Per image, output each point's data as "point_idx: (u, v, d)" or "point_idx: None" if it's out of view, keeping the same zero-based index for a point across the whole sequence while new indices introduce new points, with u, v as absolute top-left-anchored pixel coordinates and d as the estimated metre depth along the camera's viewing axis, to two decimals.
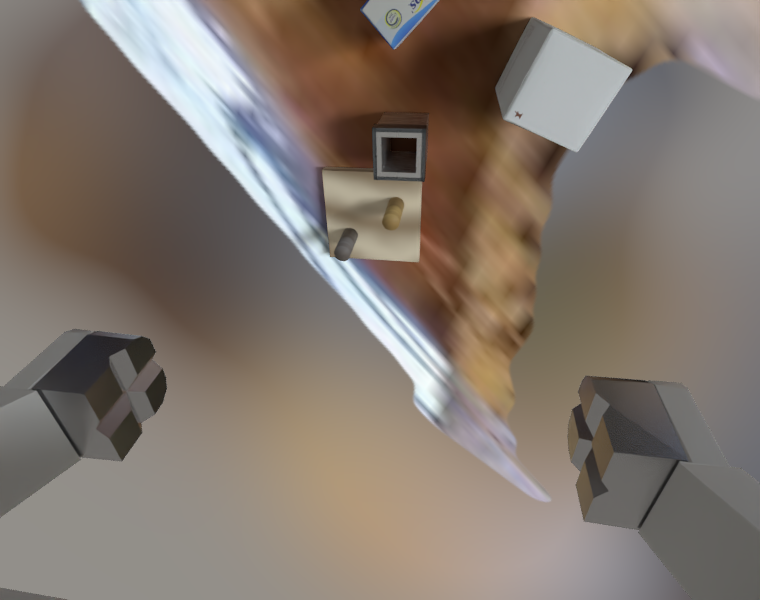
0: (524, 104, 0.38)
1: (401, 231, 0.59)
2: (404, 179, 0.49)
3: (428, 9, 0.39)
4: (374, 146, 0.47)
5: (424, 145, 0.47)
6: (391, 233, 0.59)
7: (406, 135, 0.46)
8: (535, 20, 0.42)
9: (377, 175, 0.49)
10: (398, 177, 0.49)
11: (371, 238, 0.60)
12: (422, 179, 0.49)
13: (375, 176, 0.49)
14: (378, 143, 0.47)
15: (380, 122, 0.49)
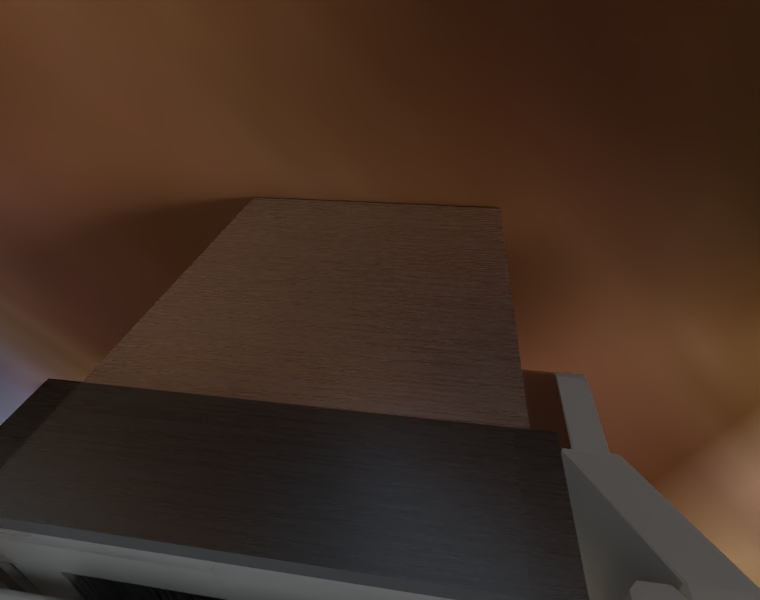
0: None
1: None
2: None
3: None
4: None
5: None
6: None
7: None
8: None
9: None
10: None
11: None
12: None
13: None
14: None
15: (154, 316, 0.06)
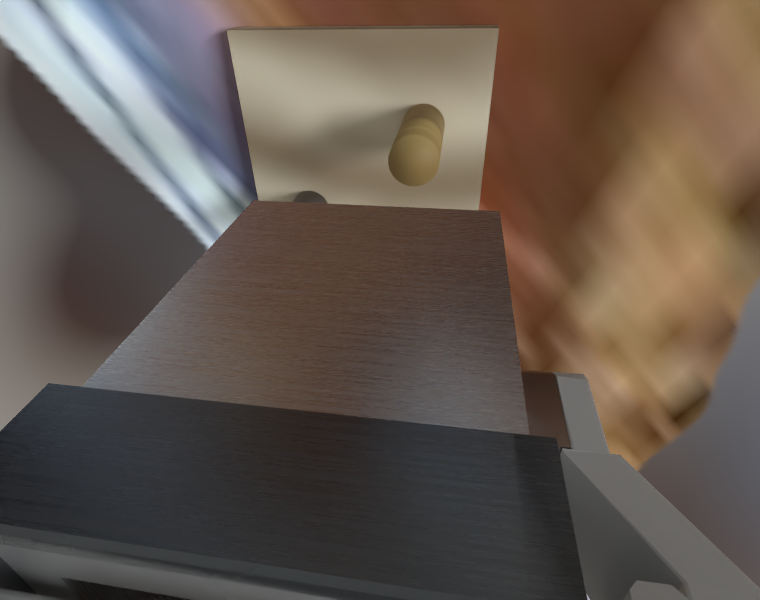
0: None
1: (435, 197, 0.24)
2: None
3: None
4: None
5: None
6: (409, 203, 0.24)
7: None
8: None
9: None
10: None
11: None
12: None
13: None
14: None
15: (154, 320, 0.06)
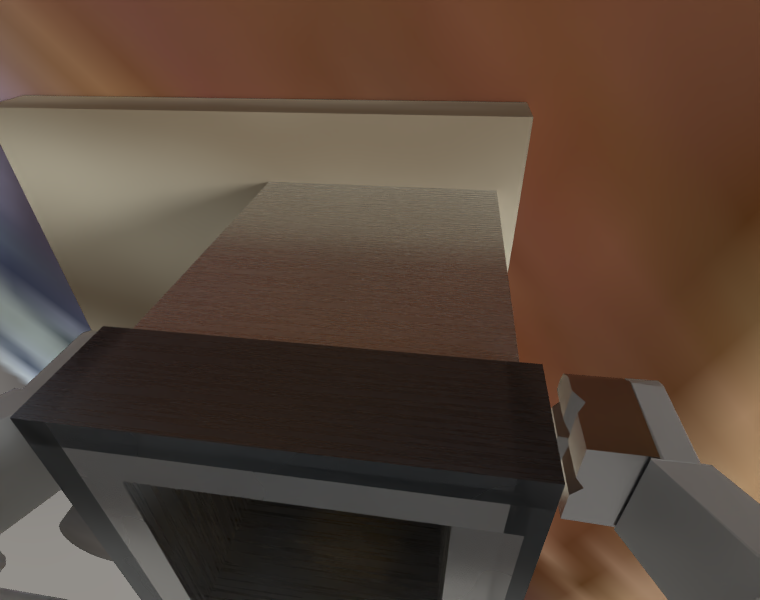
0: None
1: None
2: None
3: None
4: (95, 519, 0.06)
5: (522, 572, 0.05)
6: None
7: (347, 500, 0.05)
8: None
9: None
10: None
11: None
12: None
13: None
14: (117, 510, 0.05)
15: (188, 279, 0.07)
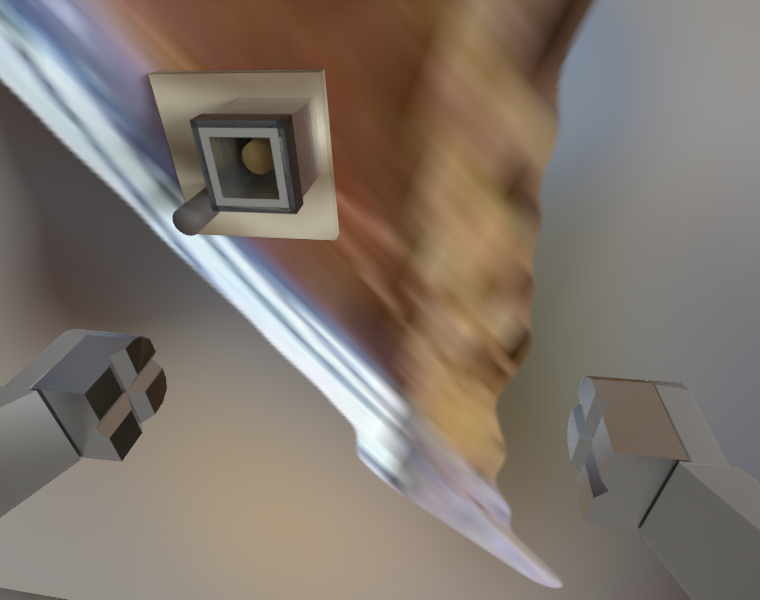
0: None
1: None
2: (263, 211, 0.28)
3: None
4: (200, 153, 0.27)
5: (285, 150, 0.26)
6: None
7: (250, 133, 0.25)
8: None
9: (217, 203, 0.28)
10: (252, 207, 0.28)
11: None
12: (292, 210, 0.28)
13: (214, 205, 0.28)
14: (206, 148, 0.26)
15: (219, 111, 0.28)
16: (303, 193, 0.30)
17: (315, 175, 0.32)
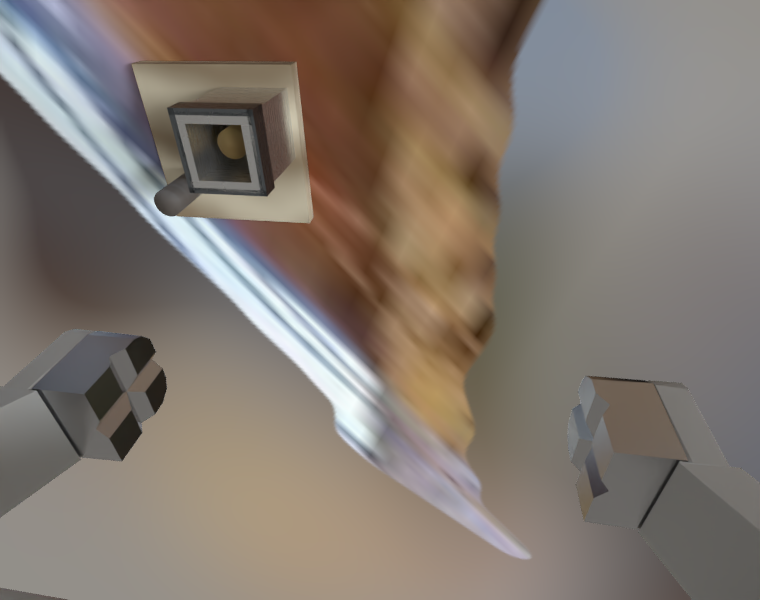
0: None
1: None
2: (236, 193, 0.30)
3: None
4: (178, 139, 0.29)
5: (255, 137, 0.28)
6: None
7: (223, 120, 0.28)
8: None
9: (194, 186, 0.31)
10: (226, 189, 0.30)
11: None
12: (263, 192, 0.30)
13: (191, 187, 0.31)
14: (183, 134, 0.29)
15: (196, 100, 0.30)
16: (275, 177, 0.32)
17: (288, 161, 0.34)
